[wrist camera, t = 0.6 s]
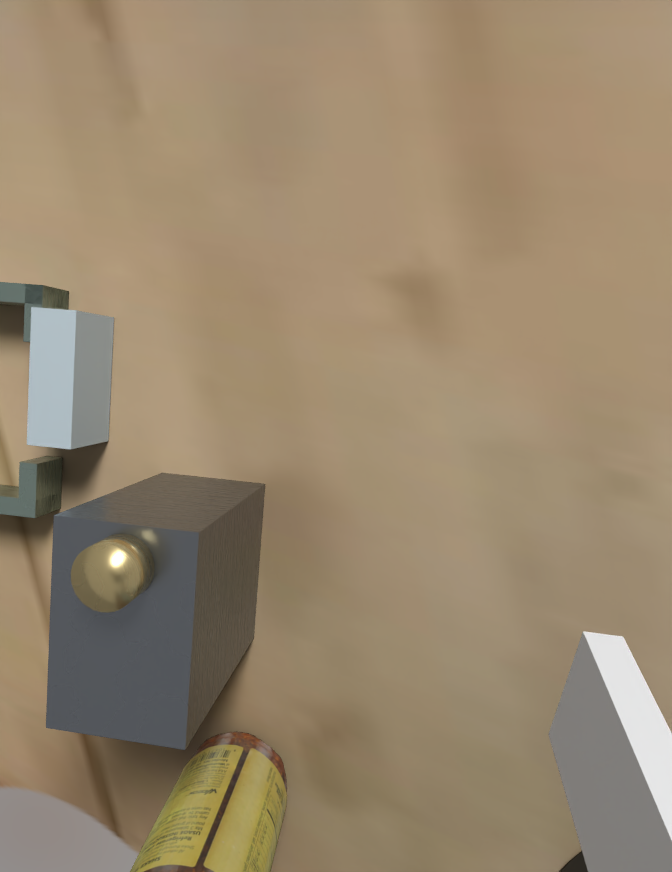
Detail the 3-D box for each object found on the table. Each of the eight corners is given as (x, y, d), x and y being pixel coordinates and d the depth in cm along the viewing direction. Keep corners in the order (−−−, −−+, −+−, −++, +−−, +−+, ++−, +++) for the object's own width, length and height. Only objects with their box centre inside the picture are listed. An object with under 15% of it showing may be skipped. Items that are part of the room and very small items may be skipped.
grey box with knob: (253, 637, 36) (170, 774, 24) (154, 624, 37) (22, 750, 25) (265, 483, 35) (183, 543, 23) (162, 472, 36) (29, 524, 24)
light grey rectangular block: (108, 441, 36) (70, 449, 32) (69, 437, 37) (26, 444, 33) (113, 317, 36) (76, 310, 32) (73, 314, 36) (31, 306, 32)
